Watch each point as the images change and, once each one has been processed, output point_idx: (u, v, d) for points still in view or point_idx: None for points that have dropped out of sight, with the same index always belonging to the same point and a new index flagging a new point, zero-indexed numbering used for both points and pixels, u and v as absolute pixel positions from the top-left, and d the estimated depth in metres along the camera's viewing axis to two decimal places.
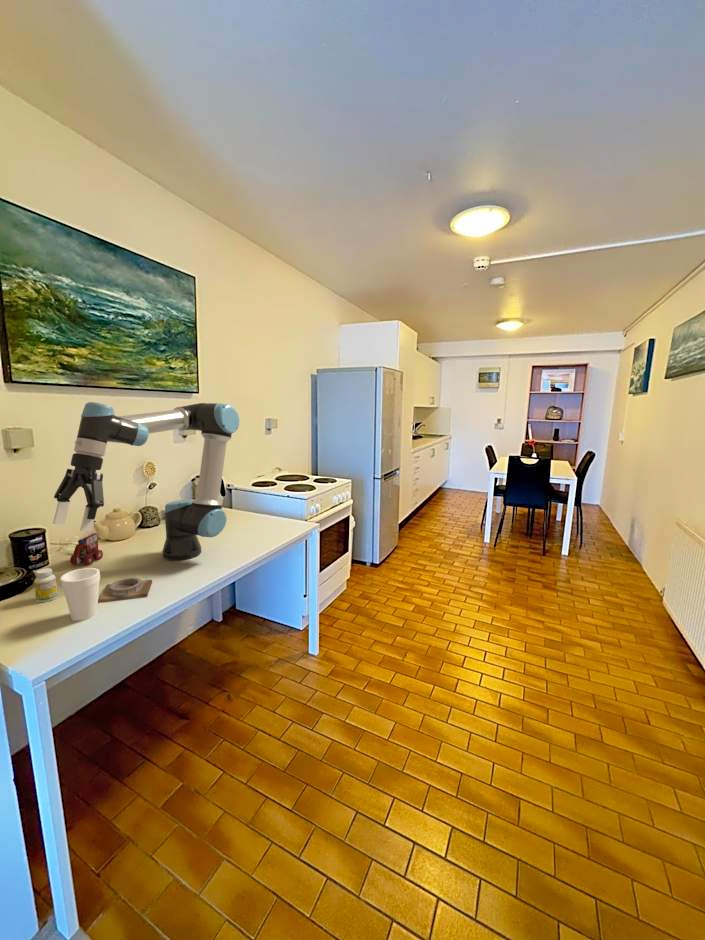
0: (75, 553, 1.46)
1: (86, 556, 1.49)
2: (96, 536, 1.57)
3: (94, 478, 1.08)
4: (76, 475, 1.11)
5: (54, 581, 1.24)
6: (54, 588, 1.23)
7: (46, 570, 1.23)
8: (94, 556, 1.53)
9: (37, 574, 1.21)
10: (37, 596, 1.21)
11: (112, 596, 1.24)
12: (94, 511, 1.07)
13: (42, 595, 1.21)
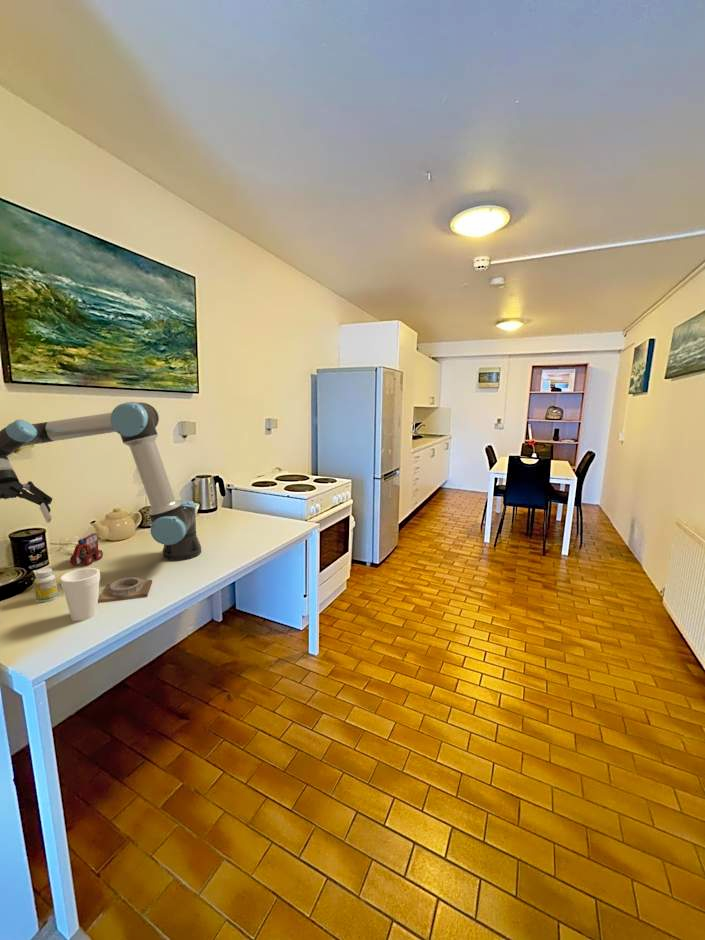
0: (75, 553, 1.46)
1: (86, 556, 1.49)
2: (96, 536, 1.57)
3: None
4: None
5: (54, 581, 1.24)
6: (54, 588, 1.23)
7: (46, 570, 1.23)
8: (94, 556, 1.53)
9: (37, 574, 1.21)
10: (37, 596, 1.21)
11: (112, 596, 1.24)
12: None
13: (42, 595, 1.21)
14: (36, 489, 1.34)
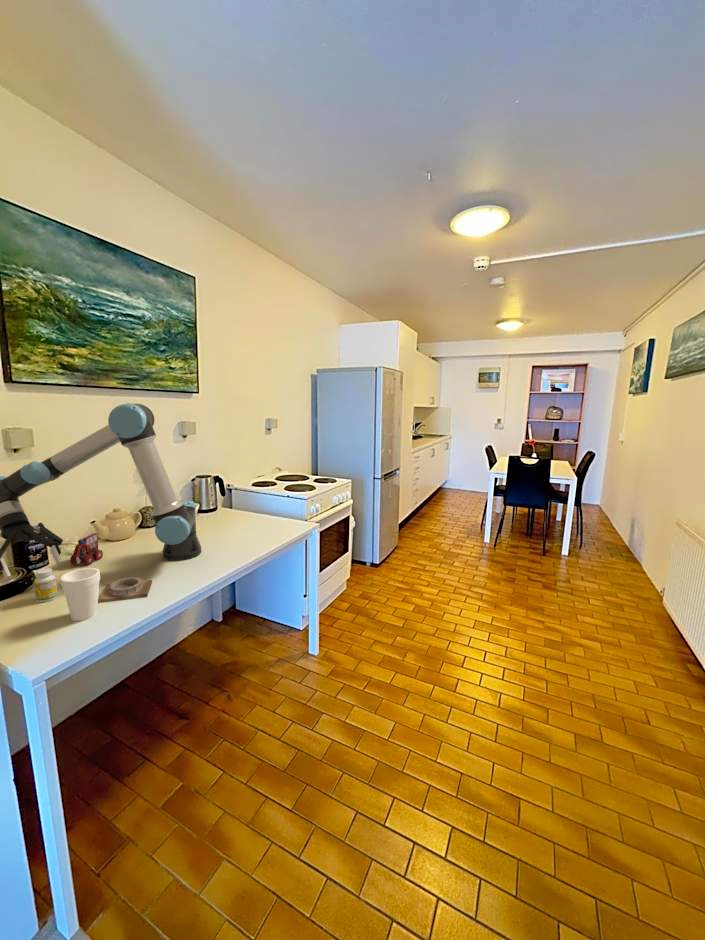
0: (75, 553, 1.46)
1: (86, 556, 1.49)
2: (96, 536, 1.57)
3: None
4: None
5: (54, 581, 1.24)
6: (54, 588, 1.23)
7: (46, 570, 1.23)
8: (94, 556, 1.53)
9: (37, 574, 1.21)
10: (37, 596, 1.21)
11: (112, 596, 1.24)
12: None
13: (42, 595, 1.21)
14: (46, 531, 1.32)
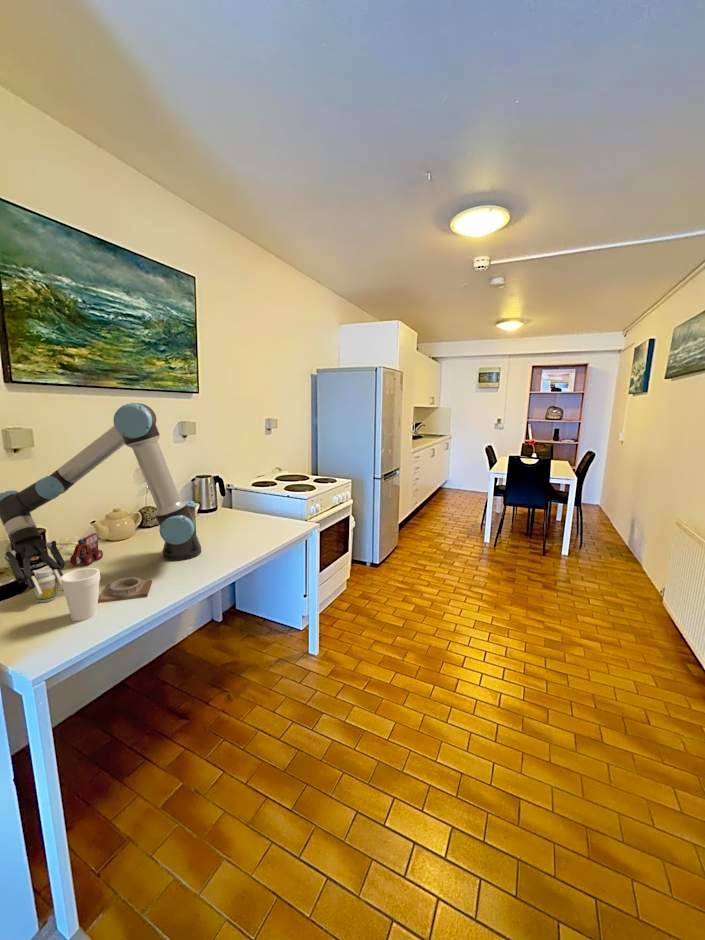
0: (75, 553, 1.46)
1: (86, 556, 1.49)
2: (96, 536, 1.57)
3: (7, 560, 1.20)
4: None
5: (54, 581, 1.24)
6: (54, 588, 1.23)
7: (46, 570, 1.23)
8: (94, 556, 1.53)
9: (37, 574, 1.21)
10: None
11: (112, 596, 1.24)
12: (27, 582, 1.19)
13: (42, 594, 1.21)
14: (55, 550, 1.29)
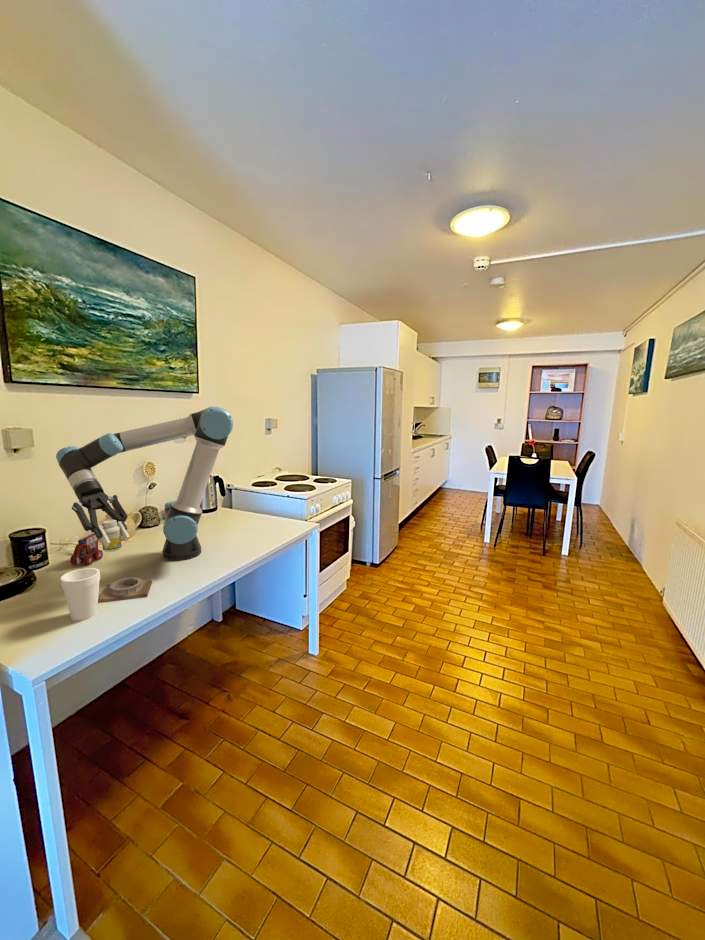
0: (75, 553, 1.46)
1: (86, 556, 1.49)
2: None
3: None
4: None
5: (119, 532, 1.26)
6: (119, 539, 1.26)
7: (112, 521, 1.25)
8: (94, 556, 1.53)
9: (104, 524, 1.23)
10: (104, 546, 1.24)
11: (112, 596, 1.24)
12: (95, 531, 1.21)
13: None
14: (117, 504, 1.31)
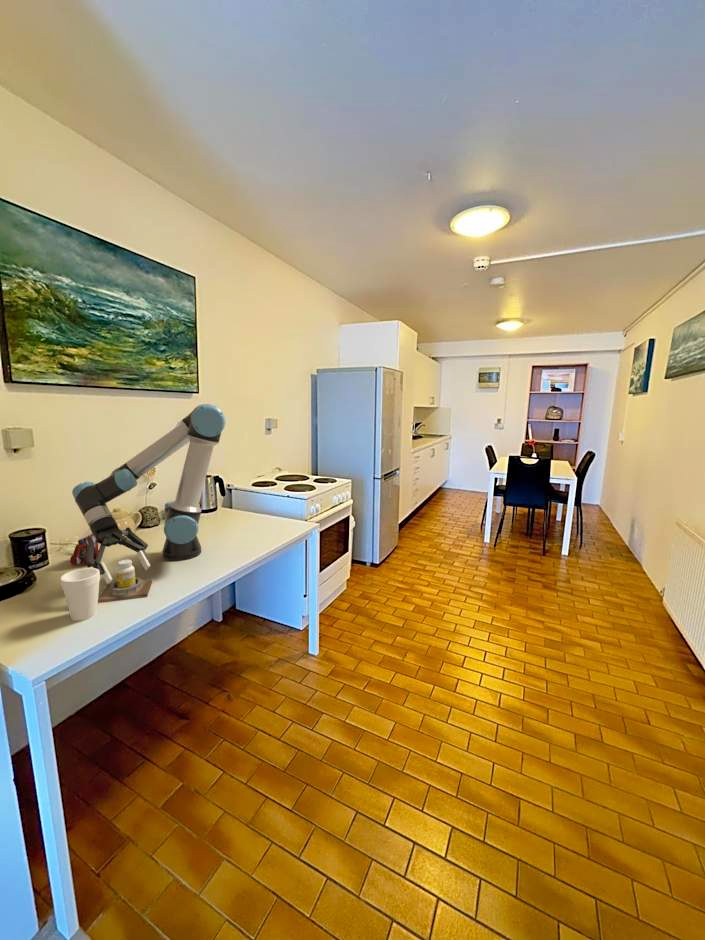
0: (75, 553, 1.46)
1: (86, 556, 1.49)
2: None
3: None
4: None
5: (134, 572, 1.29)
6: (133, 578, 1.29)
7: (127, 561, 1.29)
8: (94, 556, 1.53)
9: (119, 565, 1.27)
10: (119, 586, 1.27)
11: (112, 596, 1.24)
12: (97, 568, 1.22)
13: (123, 584, 1.27)
14: (133, 535, 1.36)
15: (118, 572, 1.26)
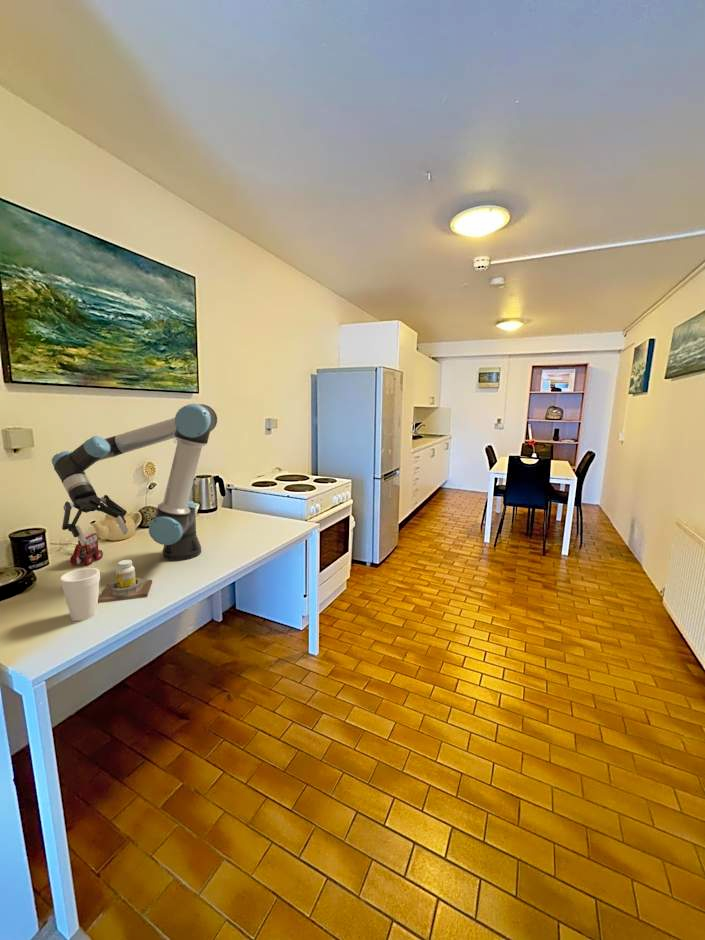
0: (75, 553, 1.46)
1: (86, 556, 1.49)
2: (96, 536, 1.57)
3: (64, 509, 1.30)
4: None
5: (134, 572, 1.29)
6: (133, 579, 1.29)
7: (127, 561, 1.28)
8: (94, 556, 1.53)
9: (119, 565, 1.27)
10: (119, 586, 1.27)
11: (112, 596, 1.24)
12: (72, 530, 1.26)
13: (123, 585, 1.27)
14: (112, 502, 1.41)
15: (118, 572, 1.26)
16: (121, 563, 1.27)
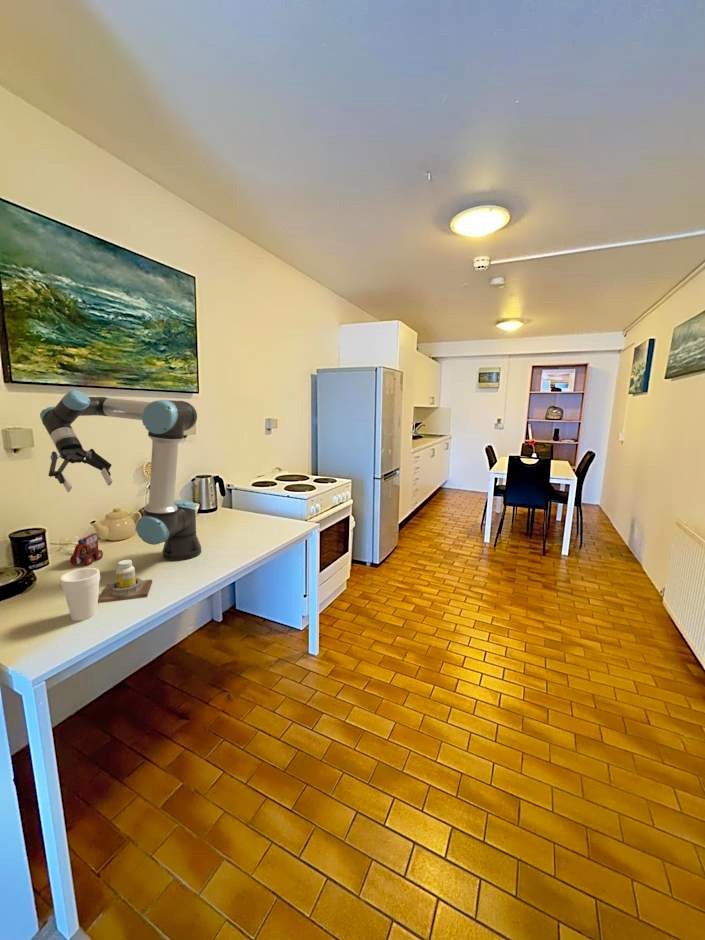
0: (75, 553, 1.46)
1: (86, 556, 1.49)
2: (96, 536, 1.57)
3: (51, 459, 1.38)
4: None
5: (134, 572, 1.29)
6: (133, 579, 1.29)
7: (127, 561, 1.28)
8: (94, 556, 1.53)
9: (119, 565, 1.27)
10: (119, 586, 1.27)
11: (112, 596, 1.24)
12: (58, 477, 1.34)
13: (123, 585, 1.27)
14: (97, 456, 1.48)
15: (118, 572, 1.26)
16: (121, 563, 1.27)
